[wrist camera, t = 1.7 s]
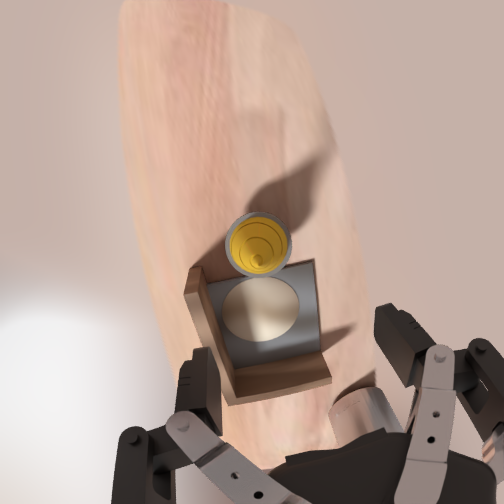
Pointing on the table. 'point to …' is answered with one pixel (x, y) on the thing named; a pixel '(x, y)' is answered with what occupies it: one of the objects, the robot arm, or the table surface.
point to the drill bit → (258, 244)
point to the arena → (260, 332)
